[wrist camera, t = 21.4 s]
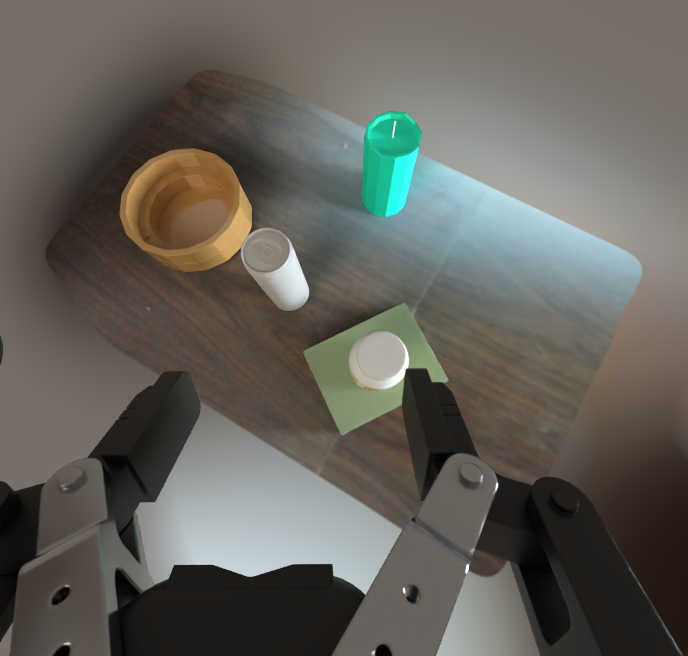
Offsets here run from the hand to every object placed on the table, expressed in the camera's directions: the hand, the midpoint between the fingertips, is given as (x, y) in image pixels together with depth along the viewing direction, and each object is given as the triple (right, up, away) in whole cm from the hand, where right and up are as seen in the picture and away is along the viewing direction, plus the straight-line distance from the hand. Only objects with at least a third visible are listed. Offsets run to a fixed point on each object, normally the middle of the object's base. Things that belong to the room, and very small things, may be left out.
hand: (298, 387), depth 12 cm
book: (+5, -3, +26) cm, 27 cm away
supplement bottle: (+5, -2, +23) cm, 24 cm away
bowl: (-18, +17, +31) cm, 40 cm away
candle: (+7, +20, +31) cm, 38 cm away
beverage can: (-5, +6, +29) cm, 30 cm away
